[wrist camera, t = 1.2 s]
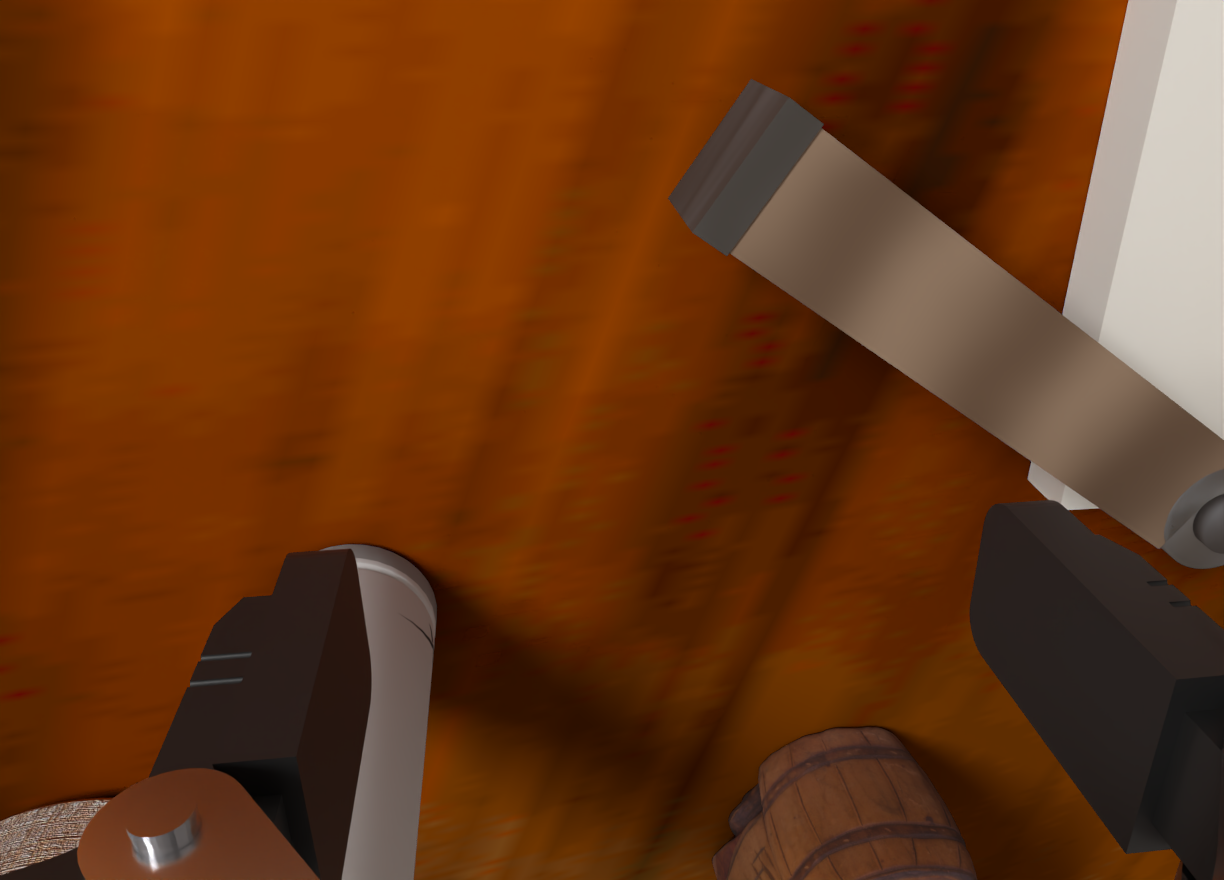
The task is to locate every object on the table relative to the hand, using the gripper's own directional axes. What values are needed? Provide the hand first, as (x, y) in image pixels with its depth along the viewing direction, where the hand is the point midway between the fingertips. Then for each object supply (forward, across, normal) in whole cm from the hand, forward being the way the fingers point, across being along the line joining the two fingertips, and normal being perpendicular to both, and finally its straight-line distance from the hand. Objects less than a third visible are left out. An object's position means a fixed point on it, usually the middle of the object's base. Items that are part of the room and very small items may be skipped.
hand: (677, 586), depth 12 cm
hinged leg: (+20, -14, +4) cm, 25 cm away
